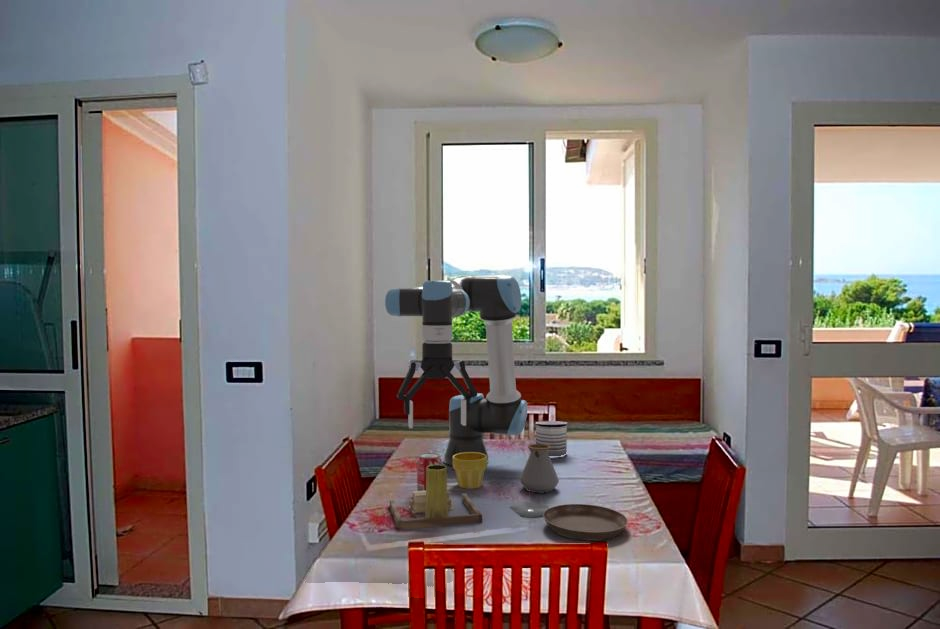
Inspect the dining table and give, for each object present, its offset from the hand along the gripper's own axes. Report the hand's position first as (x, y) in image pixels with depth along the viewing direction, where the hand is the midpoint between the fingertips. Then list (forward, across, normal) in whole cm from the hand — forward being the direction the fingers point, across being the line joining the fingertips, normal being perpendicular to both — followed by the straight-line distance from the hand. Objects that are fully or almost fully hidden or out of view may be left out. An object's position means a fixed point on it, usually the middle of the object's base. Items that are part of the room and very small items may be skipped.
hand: (437, 426), depth 169 cm
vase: (+25, 0, 0) cm, 25 cm away
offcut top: (+21, 0, +8) cm, 23 cm away
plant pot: (+25, +15, +26) cm, 39 cm away
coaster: (+25, +26, +4) cm, 36 cm away
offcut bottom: (+25, 0, +8) cm, 27 cm away
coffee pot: (+25, +33, +16) cm, 44 cm away
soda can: (+25, +2, +22) cm, 33 cm away
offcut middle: (+23, 0, +8) cm, 25 cm away
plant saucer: (+25, +35, -12) cm, 45 cm away
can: (+25, +53, +59) cm, 83 cm away
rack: (+25, 0, +4) cm, 25 cm away
